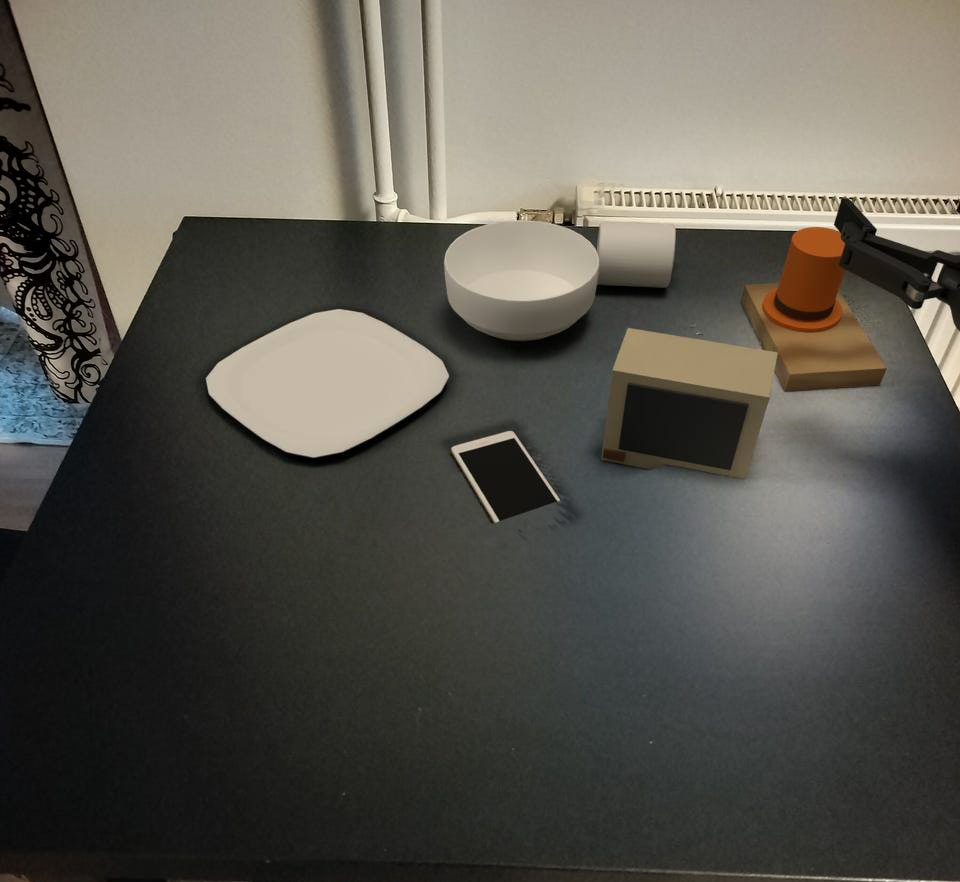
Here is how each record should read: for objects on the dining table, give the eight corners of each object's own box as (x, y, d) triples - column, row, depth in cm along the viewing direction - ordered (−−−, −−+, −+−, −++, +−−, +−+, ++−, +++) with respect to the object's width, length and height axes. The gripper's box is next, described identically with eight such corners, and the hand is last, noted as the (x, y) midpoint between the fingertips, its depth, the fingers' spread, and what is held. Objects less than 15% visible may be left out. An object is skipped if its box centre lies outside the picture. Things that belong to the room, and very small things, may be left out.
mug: (667, 299, 121) (677, 242, 115) (594, 296, 122) (599, 239, 116) (664, 254, 129) (673, 198, 122) (595, 251, 129) (601, 195, 123)
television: (751, 442, 103) (777, 352, 93) (742, 489, 98) (769, 399, 88) (615, 417, 106) (627, 327, 96) (600, 461, 101) (611, 371, 91)
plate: (185, 388, 110) (181, 376, 109) (342, 306, 121) (340, 294, 120) (312, 485, 99) (310, 473, 98) (473, 385, 110) (473, 373, 108)
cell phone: (505, 543, 93) (505, 539, 92) (450, 451, 102) (449, 446, 101) (573, 523, 95) (573, 518, 94) (512, 433, 104) (512, 429, 103)
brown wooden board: (880, 385, 109) (887, 367, 107) (784, 391, 108) (790, 374, 106) (826, 296, 121) (831, 279, 119) (740, 301, 121) (744, 284, 119)
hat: (853, 306, 115) (878, 237, 108) (821, 341, 111) (844, 272, 103) (783, 281, 119) (801, 213, 112) (748, 314, 114) (766, 245, 107)
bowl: (623, 316, 119) (631, 255, 112) (526, 381, 110) (528, 320, 104) (514, 263, 127) (516, 205, 121) (416, 321, 119) (411, 260, 112)
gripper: (868, 371, 81) (779, 252, 94) (1119, 338, 83) (999, 226, 96) (897, 295, 75) (798, 180, 88) (1166, 261, 77) (1031, 154, 90)
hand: (902, 204), depth 92 cm, fingers open, 13 cm apart
